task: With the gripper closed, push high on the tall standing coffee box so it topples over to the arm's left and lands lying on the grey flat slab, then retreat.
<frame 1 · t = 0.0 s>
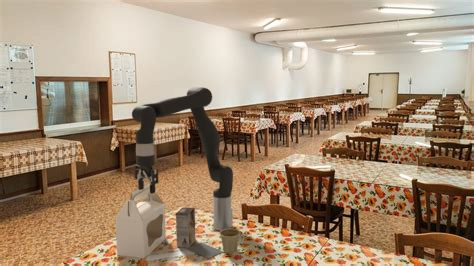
hand: (146, 191, 156), 29 cm above the table, fingers open, 8 cm apart
gable box: (142, 247, 170), on the table
flower pot: (230, 251, 165), on the table
grey flat slab: (204, 250, 166), on the table
coffee box: (186, 243, 174), on the table
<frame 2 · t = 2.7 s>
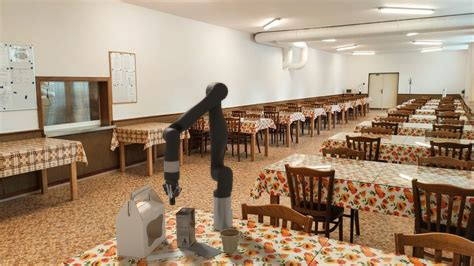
hand: (172, 204, 178), 16 cm above the table, fingers closed
nothing on the table moved.
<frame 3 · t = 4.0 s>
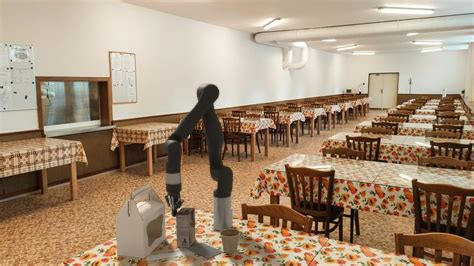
hand: (174, 216, 178), 11 cm above the table, fingers closed
nothing on the table moved.
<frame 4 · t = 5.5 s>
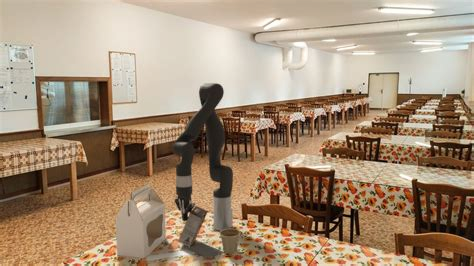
hand: (184, 220, 173), 11 cm above the table, fingers closed
coffee box: (186, 241, 174), point 1 cm above the table
everything else where it was.
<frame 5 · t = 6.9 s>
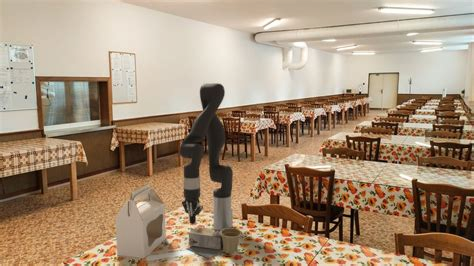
hand: (192, 223, 169), 11 cm above the table, fingers closed
flower pot: (230, 250, 165), on the table, touching coffee box
coffee box: (191, 235, 173), point 4 cm above the table, touching flower pot, grey flat slab
everything else where it was.
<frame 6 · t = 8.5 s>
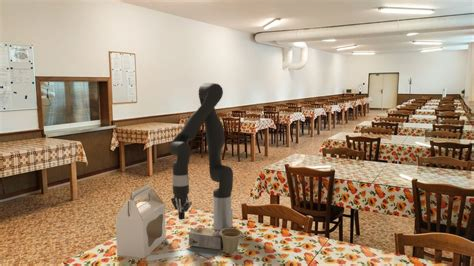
hand: (181, 219, 174), 11 cm above the table, fingers closed
nothing on the table moved.
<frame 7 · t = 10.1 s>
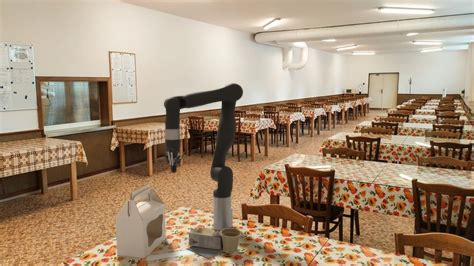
hand: (173, 172, 183), 31 cm above the table, fingers closed
nothing on the table moved.
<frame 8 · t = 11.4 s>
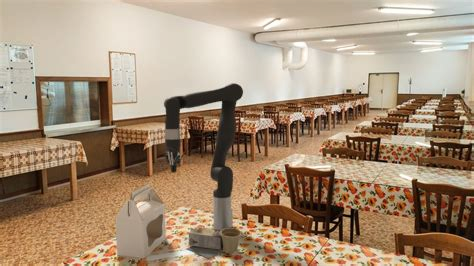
hand: (173, 172, 184), 31 cm above the table, fingers closed
nothing on the table moved.
at the end: coffee box tilted 91°; coffee box inside the target area (6.6 cm from its centre), point 3.6 cm above the table; the gripper is holding nothing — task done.
